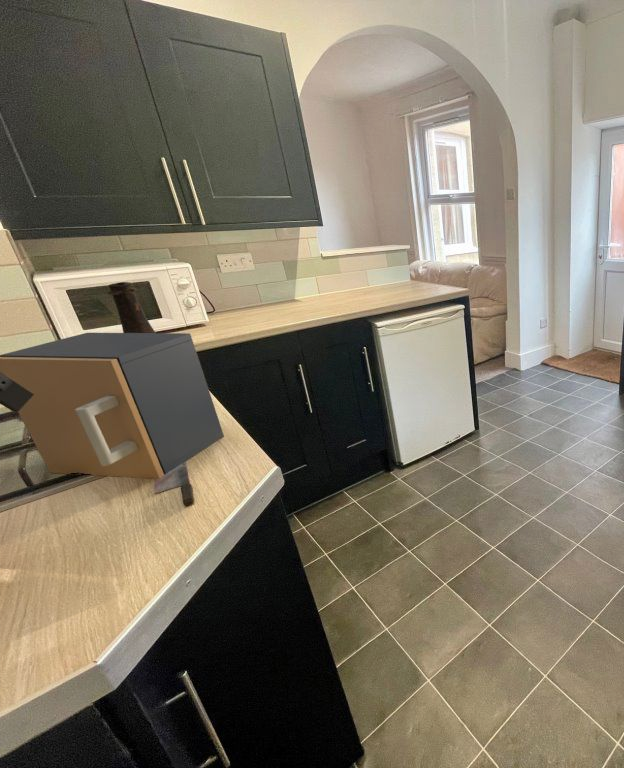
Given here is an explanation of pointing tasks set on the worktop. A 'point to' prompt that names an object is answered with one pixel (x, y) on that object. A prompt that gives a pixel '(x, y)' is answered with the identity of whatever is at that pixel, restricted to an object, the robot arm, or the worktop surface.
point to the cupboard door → (83, 416)
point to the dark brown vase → (129, 309)
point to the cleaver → (177, 483)
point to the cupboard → (153, 386)
